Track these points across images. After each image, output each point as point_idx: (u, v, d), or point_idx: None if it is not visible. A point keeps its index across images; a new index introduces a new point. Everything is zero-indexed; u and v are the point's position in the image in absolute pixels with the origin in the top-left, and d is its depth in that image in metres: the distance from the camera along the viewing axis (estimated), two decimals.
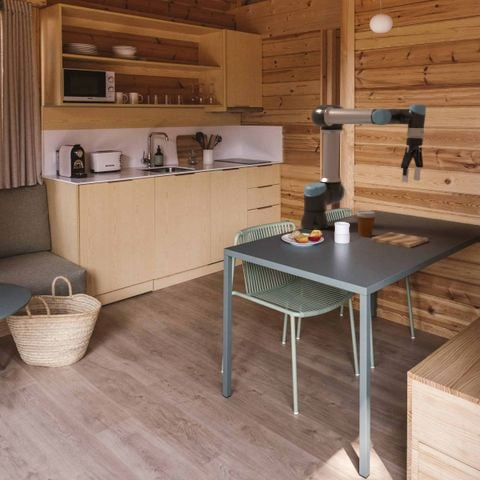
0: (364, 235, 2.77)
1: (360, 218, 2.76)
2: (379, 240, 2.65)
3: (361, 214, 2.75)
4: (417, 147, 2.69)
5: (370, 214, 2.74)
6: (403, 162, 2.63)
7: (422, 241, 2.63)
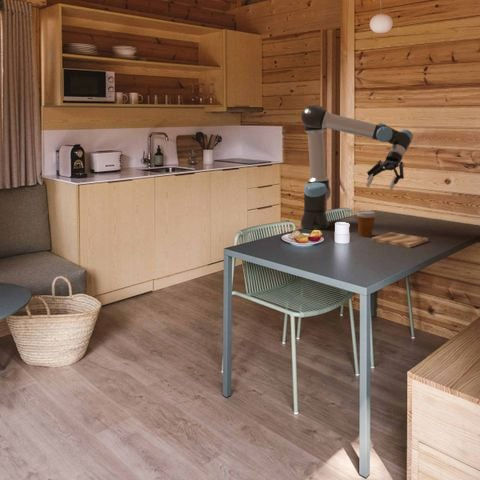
0: (364, 235, 2.77)
1: (360, 218, 2.76)
2: (379, 240, 2.65)
3: (361, 214, 2.75)
4: None
5: (370, 214, 2.74)
6: (402, 173, 2.78)
7: (422, 241, 2.63)
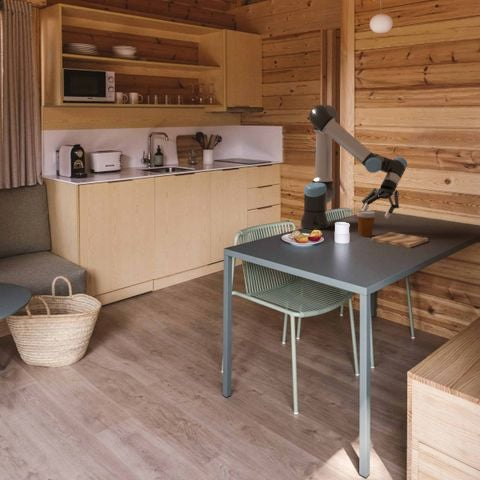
0: (364, 235, 2.77)
1: (360, 218, 2.76)
2: (379, 240, 2.65)
3: (361, 214, 2.75)
4: None
5: (370, 214, 2.74)
6: (397, 202, 2.77)
7: (422, 241, 2.63)
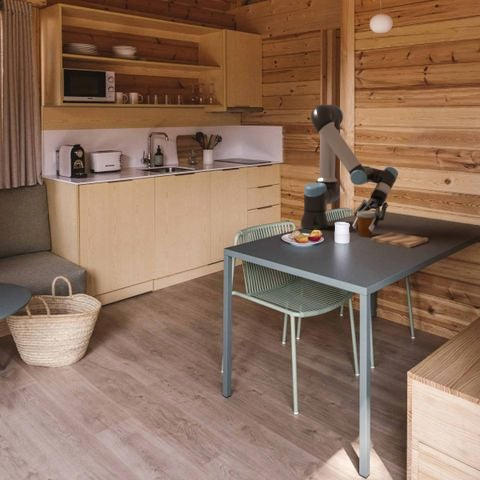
0: (364, 235, 2.77)
1: (360, 218, 2.76)
2: (379, 240, 2.65)
3: (361, 214, 2.75)
4: None
5: (370, 214, 2.74)
6: (383, 215, 2.75)
7: (422, 241, 2.63)
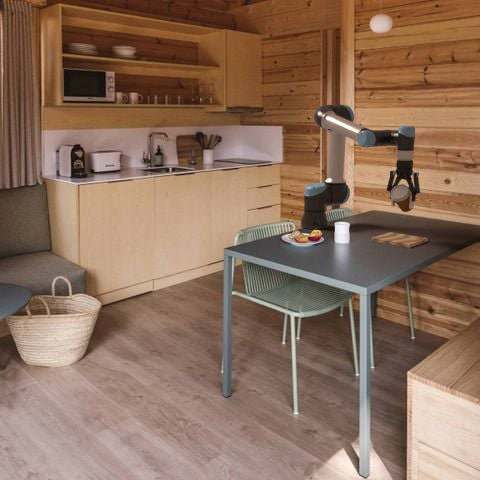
0: (407, 211, 2.66)
1: (396, 201, 2.61)
2: (379, 240, 2.65)
3: (396, 199, 2.59)
4: None
5: (405, 196, 2.58)
6: (418, 188, 2.57)
7: (422, 241, 2.63)
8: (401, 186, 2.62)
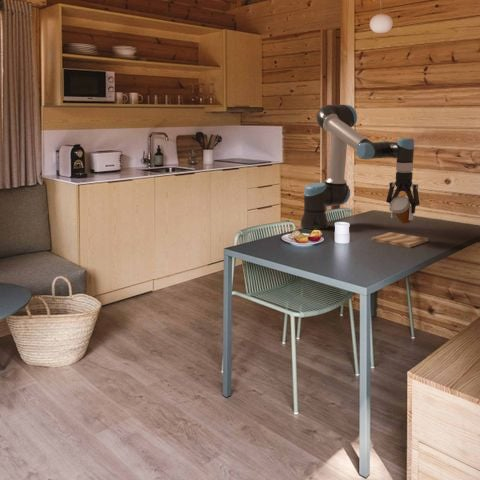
0: (406, 222, 2.67)
1: (396, 213, 2.62)
2: (379, 240, 2.65)
3: (396, 211, 2.60)
4: None
5: (405, 208, 2.58)
6: (417, 200, 2.58)
7: (422, 241, 2.63)
8: (401, 198, 2.63)
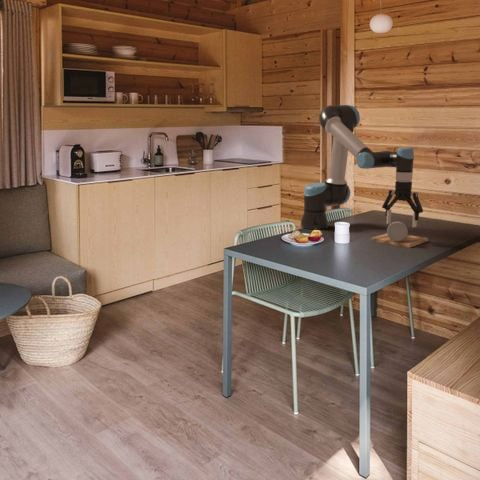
0: None
1: None
2: (379, 240, 2.65)
3: (392, 239, 2.60)
4: None
5: (402, 239, 2.58)
6: (420, 207, 2.57)
7: (422, 241, 2.63)
8: (399, 225, 2.58)
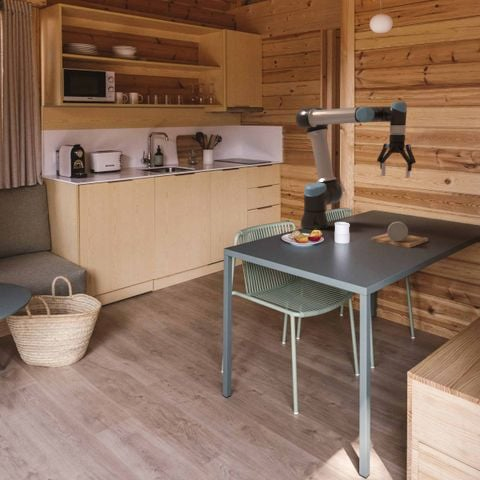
0: None
1: None
2: (379, 240, 2.65)
3: (392, 239, 2.60)
4: None
5: (402, 239, 2.58)
6: (412, 158, 2.72)
7: (422, 241, 2.63)
8: (399, 225, 2.58)
